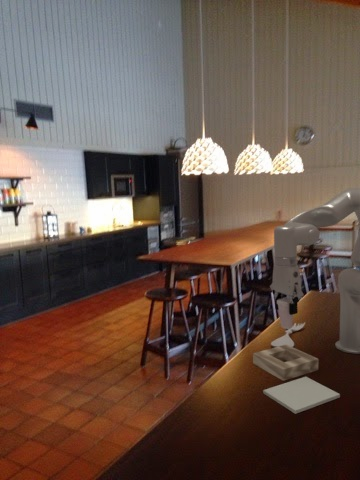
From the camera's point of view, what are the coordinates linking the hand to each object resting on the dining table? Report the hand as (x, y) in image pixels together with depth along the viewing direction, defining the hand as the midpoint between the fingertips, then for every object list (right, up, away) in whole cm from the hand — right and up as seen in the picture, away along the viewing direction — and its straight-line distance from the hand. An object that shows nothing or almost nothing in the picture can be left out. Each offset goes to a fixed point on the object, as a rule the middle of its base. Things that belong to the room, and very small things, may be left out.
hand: (286, 310), depth 146 cm
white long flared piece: (+8, -17, +30) cm, 35 cm away
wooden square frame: (0, -20, +2) cm, 20 cm away
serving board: (0, -23, -18) cm, 29 cm away
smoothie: (0, -6, +1) cm, 6 cm away
